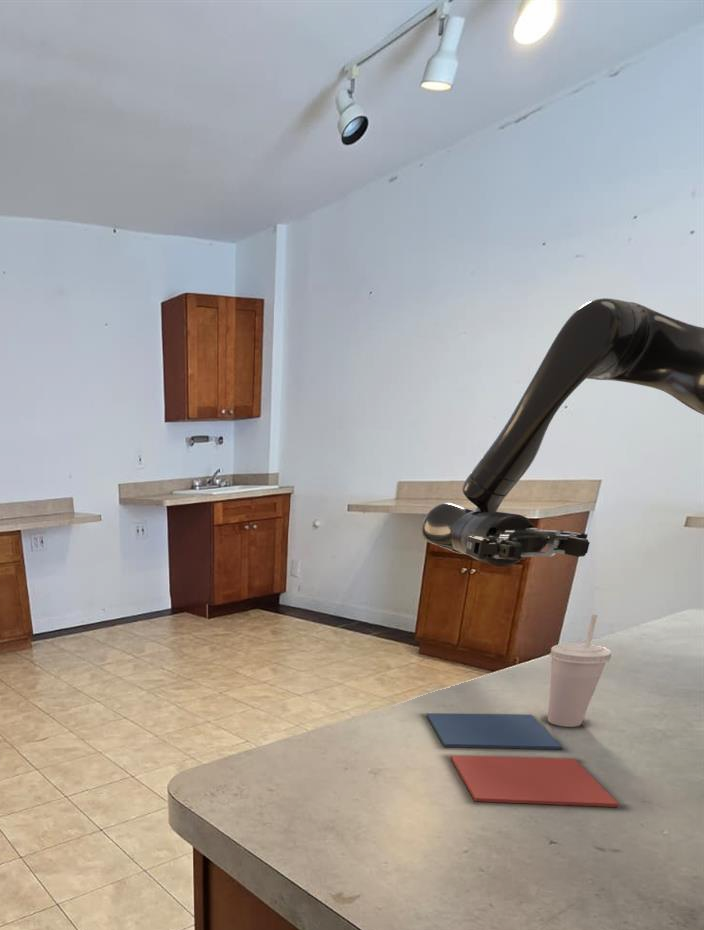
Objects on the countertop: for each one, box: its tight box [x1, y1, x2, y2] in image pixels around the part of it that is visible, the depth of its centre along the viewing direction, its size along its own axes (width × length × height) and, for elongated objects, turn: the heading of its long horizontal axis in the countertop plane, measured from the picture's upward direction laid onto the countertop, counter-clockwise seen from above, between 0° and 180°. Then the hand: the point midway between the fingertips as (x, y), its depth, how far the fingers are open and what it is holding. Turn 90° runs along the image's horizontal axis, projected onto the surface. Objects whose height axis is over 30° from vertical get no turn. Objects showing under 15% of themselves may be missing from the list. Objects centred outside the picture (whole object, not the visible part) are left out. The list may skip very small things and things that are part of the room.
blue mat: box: [426, 712, 563, 750], centre depth 82 cm, size 13×11×1 cm
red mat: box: [450, 754, 619, 808], centre depth 69 cm, size 13×11×1 cm
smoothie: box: [547, 613, 613, 728], centre depth 81 cm, size 6×6×14 cm
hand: (551, 550), depth 85 cm, fingers open, 8 cm apart
